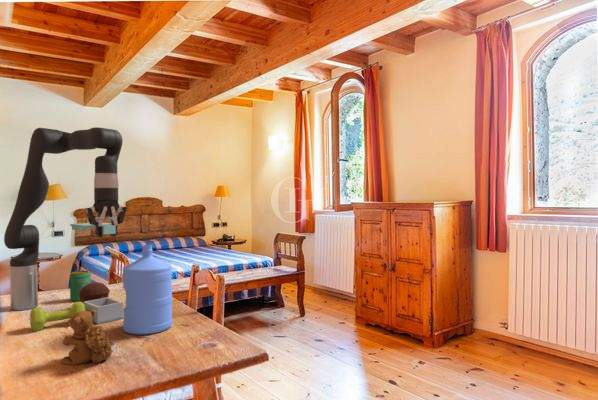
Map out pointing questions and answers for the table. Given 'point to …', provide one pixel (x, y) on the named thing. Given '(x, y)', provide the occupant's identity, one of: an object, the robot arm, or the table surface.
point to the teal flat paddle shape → (106, 227)
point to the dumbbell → (52, 315)
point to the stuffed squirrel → (86, 340)
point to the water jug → (147, 295)
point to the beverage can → (78, 283)
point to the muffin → (93, 292)
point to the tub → (105, 310)
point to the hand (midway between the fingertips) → (106, 236)
